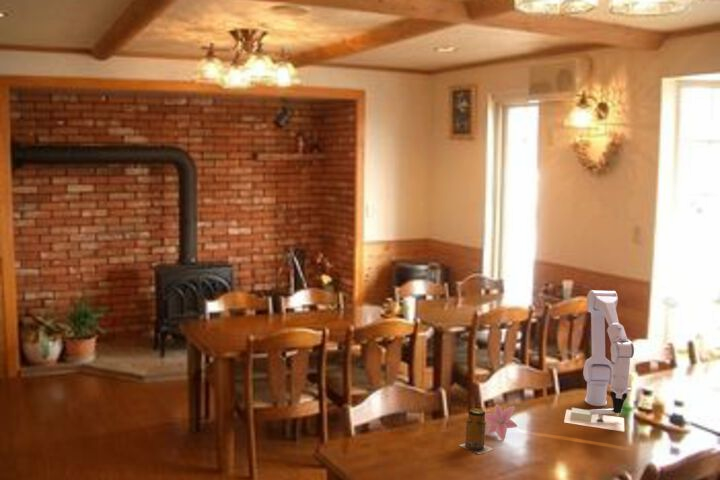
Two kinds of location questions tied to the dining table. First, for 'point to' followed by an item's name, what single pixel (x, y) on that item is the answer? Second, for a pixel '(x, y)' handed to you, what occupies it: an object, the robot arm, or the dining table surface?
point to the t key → (602, 412)
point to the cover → (581, 414)
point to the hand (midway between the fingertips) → (617, 412)
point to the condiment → (476, 432)
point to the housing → (598, 422)
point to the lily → (500, 421)
